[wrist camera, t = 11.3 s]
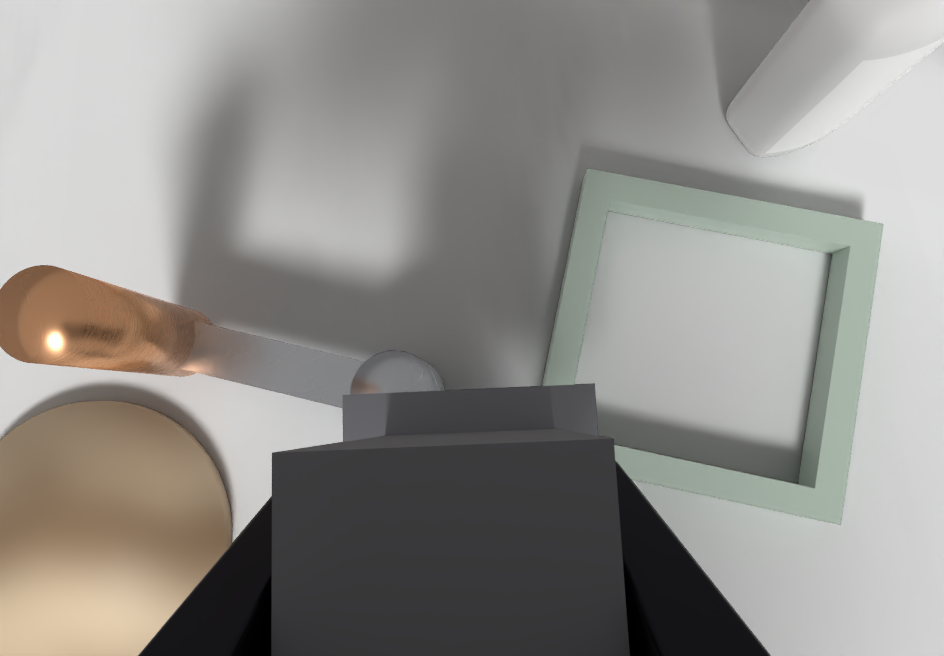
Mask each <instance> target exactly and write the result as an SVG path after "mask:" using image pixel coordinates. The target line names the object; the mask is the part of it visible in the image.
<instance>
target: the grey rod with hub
mask: <svg viewBox="0 0 944 656" xmlns="http://www.w3.org/2000/svg"><path fill="white" fill-rule="evenodd" d="M0 346H1V348H2V349H3V350H4V351H5V352H6V353H7V354H9V355H10V356H11V357H13V358H15V359H17V360H20V361H23V362H27V363H36V364H47V365H58V366H69V367H80V368H91V369H102V370H113V371H124V372H135V373H146V374H156V375H167V376H179V377H184V376H190V375H193V374H195V373H201V374H205V375H209V376H213V377H217V378H221V379H225V380H229V381H233V382H237V383H242V384H246V385H250V386H254V387H258V388H262V389H266V390H270V391H274V392H279V393H283V394H287V395H291V396H295V397H299V398H303V399H307V400H311V401H315V402H320V403H324V404H328V405H332V406H336V407H340V408H343V396H342V395H351V394H374V393H396V392H419V391H441V390H445V389H444V385H443V382H442V379H441V377H440V376H439V374H438V373H437V371H436V370H435V369H434V368H433V367H432V366H430V365H429V364H428V363H426V362H424V361H423V360H421V359H420V358H418V357H416V356H414V355H412V354H410V353H407V352H403V351H386V352H382V353H379V354H376V355H374V356H372V357H371V358H369V359H368V360H367V361H365V362H364V361H360V360H355V359H351V358H347V357H343V356H339V355H334V354H330V353H326V352H322V351H318V350H313V349H309V348H305V347H301V346H297V345H292V344H288V343H284V342H280V341H276V340H271V339H267V338H263V337H259V336H255V335H250V334H246V333H242V332H238V331H234V330H229V329H225V328H221V327H217V326H213V325H212V323H211V322H210V321H209V319H208V318H207V317H206V316H204V315H203V314H201V313H200V312H197V311H195V310H192V309H188V308H185V307H182V306H179V305H176V304H173V303H169V302H166V301H163V300H160V299H157V298H154V297H150V296H147V295H144V294H141V293H138V292H135V291H131V290H128V289H125V288H122V287H119V286H116V285H112V284H109V283H106V282H103V281H100V280H97V279H93V278H90V277H87V276H84V275H81V274H78V273H74V272H71V271H68V270H65V269H62V268H58V267H55V266H48V265H40V266H34V267H30V268H27V269H24V270H22V271H20V272H18V273H17V274H15V275H14V276H13V277H11V278H10V279H9V280H8V281H7V282H6V283H5V284H4V285H3V287H2V288H1V289H0Z"/></svg>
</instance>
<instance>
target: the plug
mask: <svg viewBox="0 0 944 656" xmlns="http://www.w3.org/2000/svg"><path fill="white" fill-rule="evenodd" d="M342 396H343V442H340V443H333V444H327V445H320V446H313V447H307V448H300V449H294V450H287V451H281V452H274V453H272V615H271V656H630V651H629V638H628V624H627V611H626V597H625V584H624V570H623V557H622V543H621V530H620V516H619V503H618V489H617V476H616V463H615V449H614V439H613V438H607V437H602V436H598V424H597V410H596V396H595V384H575V385H553V386H530V387H508V388H486V389H463V390H441V391H419V392H396V393H374V394H351V395H342Z"/></svg>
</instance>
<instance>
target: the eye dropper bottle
mask: <svg viewBox="0 0 944 656" xmlns="http://www.w3.org/2000/svg"><path fill="white" fill-rule="evenodd" d="M943 42H944V0H810V1H809V2H808V3H807V4H806V6H805V7H804V8H803V10H802V11H801V12H800V13H799V15H798V16H797V17H796V19H795V20H794V21H793V22H792V24H791V25H790V26H789V28H788V29H787V30H786V31H785V33H784V34H783V35H782V37H781V38H780V39H779V40H778V42H777V43H776V44H775V46H774V47H773V48H772V49H771V51H770V52H769V53H768V55H767V56H766V57H765V58H764V60H763V61H762V62H761V64H760V65H759V66H758V68H757V69H756V70H755V71H754V73H753V74H752V75H751V77H750V78H749V79H748V80H747V82H746V83H745V84H744V86H743V87H742V88H741V90H740V91H739V92H738V94H737V95H736V96H735V98H734V99H733V100H732V102H731V104H730V105H729V107H728V109H727V113H726V118H727V121H728V124H729V125H730V127H731V128H732V130H733V131H734V132H735V134H736V135H737V137H738V138H739V139H740V141H741V142H742V144H743V145H744V146H745V147H746V149H747V150H748V151H749V152H750V153H751V154H753V155H754V156H758V157H771V156H776V155H781V154H785V153H789V152H792V151H795V150H798V149H801V148H803V147H806V146H808V145H810V144H812V143H814V142H816V141H818V140H820V139H822V138H823V137H825V136H827V135H828V134H830V133H831V132H833V131H834V130H836V129H837V128H838V127H839V126H841V125H842V124H843V123H845V122H846V121H847V120H848V119H850V118H851V117H852V116H853V115H854V114H856V113H857V112H858V111H859V110H861V109H862V108H863V107H864V106H866V105H867V104H868V103H869V102H870V101H872V100H873V99H874V98H875V97H877V96H878V95H879V94H880V93H882V92H883V91H884V90H885V89H886V88H888V87H889V86H890V85H891V84H893V83H894V82H895V81H896V80H898V79H899V78H900V77H901V76H902V75H904V74H905V73H906V72H907V71H909V70H910V69H911V68H912V67H914V66H915V65H916V64H917V63H918V62H920V61H921V60H922V59H923V58H925V57H926V56H927V55H928V54H930V53H931V52H932V51H933V50H934V49H936V48H937V47H938V46H939V45H941V44H942V43H943Z"/></svg>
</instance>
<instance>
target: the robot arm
mask: <svg viewBox="0 0 944 656" xmlns="http://www.w3.org/2000/svg"><path fill="white" fill-rule="evenodd" d="M615 463H616V476H617V489H618V503H619V516H620V530H621V543H622V557H623V570H624V584H625V597H626V611H627V624H628V638H629V651H630V656H770V654H769V653H768V651H767V650H766V649H765V648H764V646H763V645H762V644H761V643H760V641H759V640H758V639H757V637H756V636H755V635H754V634H753V632H752V631H751V630H750V629H749V627H748V626H747V625H746V624H745V622H744V621H743V620H742V619H741V617H740V616H739V615H738V614H737V612H736V611H735V610H734V608H733V607H732V606H731V605H730V603H729V602H728V601H727V600H726V598H725V597H724V596H723V595H722V593H721V592H720V591H719V590H718V588H717V587H716V586H715V585H714V583H713V582H712V581H711V579H710V578H709V577H708V576H707V574H706V573H705V572H704V571H703V569H702V568H701V567H700V566H699V564H698V563H697V562H696V561H695V559H694V558H693V557H692V555H691V554H690V553H689V552H688V550H687V549H686V548H685V547H684V545H683V544H682V543H681V542H680V540H679V539H678V538H677V537H676V535H675V534H674V533H673V532H672V530H671V529H670V528H669V526H668V525H667V524H666V523H665V521H664V520H663V519H662V518H661V516H660V515H659V514H658V513H657V511H656V510H655V509H654V508H653V506H652V505H651V504H650V503H649V501H648V500H647V499H646V497H645V496H644V495H643V494H642V492H641V491H640V490H639V489H638V487H637V486H636V485H635V484H634V482H633V481H632V480H631V479H630V477H629V476H628V475H627V473H626V472H625V471H624V470H623V468H622V467H621V466H620V465H619V464H618V462H617V461H615ZM271 615H272V496H271V498H270V499H269V500H268V501H267V502H266V503H265V505H264V506H263V507H262V508H261V509H260V511H259V512H258V513H257V514H256V515H255V517H254V518H253V519H252V520H251V521H250V523H249V524H248V525H247V526H246V527H245V529H244V530H243V531H242V532H241V533H240V534H239V536H238V537H237V538H236V539H235V540H234V542H233V543H232V544H231V545H230V546H229V548H228V549H227V550H226V551H225V552H224V554H223V555H222V556H221V557H220V558H219V560H218V561H217V562H216V563H215V564H214V565H213V567H212V568H211V569H210V570H209V571H208V573H207V574H206V575H205V576H204V577H203V579H202V580H201V581H200V582H199V583H198V585H197V586H196V587H195V588H194V589H193V591H192V592H191V593H190V594H189V595H188V596H187V598H186V599H185V600H184V601H183V602H182V604H181V605H180V606H179V607H178V608H177V610H176V611H175V612H174V613H173V614H172V616H171V617H170V618H169V619H168V620H167V622H166V623H165V624H164V625H163V626H162V627H161V629H160V630H159V631H158V632H157V633H156V635H155V636H154V637H153V638H152V639H151V641H150V642H149V643H148V644H147V645H146V647H145V648H144V649H143V650H142V651H141V653H140V654H139V655H138V656H271Z"/></svg>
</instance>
